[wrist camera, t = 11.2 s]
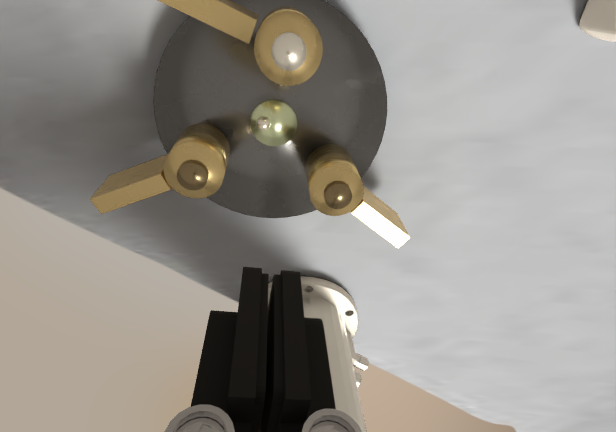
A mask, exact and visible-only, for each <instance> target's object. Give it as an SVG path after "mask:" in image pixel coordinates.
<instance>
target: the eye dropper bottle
mask: <svg viewBox="0 0 616 432" xmlns="http://www.w3.org/2000/svg"><path fill="white" fill-rule="evenodd" d="M579 26H580V29H581V30H582V31H583V32H585V33H586V34H588V35H590V36H592V37H595V38H598V39H602V40H607V41H613V42H616V0H588V2H587V4H586V7H585V9H584V12H583V14H582V17H581V19H580V24H579Z"/></svg>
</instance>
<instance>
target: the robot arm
mask: <svg viewBox="0 0 616 432" xmlns="http://www.w3.org/2000/svg"><path fill="white" fill-rule="evenodd" d="M358 321H359V319H358V313H357V309H356V306H355V303H354V301H353V299H352V298H351V296H350V295H349V294H348V293H347V292H346V291H345V290H344V289H343V288H341V287H339V286H338V285H336V284H334V283H332V282H329V281H327V280H324V279H319V278H315V277H303V276H301V275H300V272H294V271H283V270H282V271H281V274H280V275H274V276H273V282H270V283H268V274H262V268H251V267H243V274H242V282H241V290H240V299H239V307H238V312H224V311H211V312H210V316H209V320H208V325H207V330H206V335H205V340H204V345H203V349H202V354H201V359H200V364H199V369H198V374H197V379H196V384H195V389H194V393H193V399H192V403H191V407H189V408H187V409H185V410H183V411H182V412H180V413H178V414H177V415H176V417H174V419H172V420H171V421H170V423H169V425H168V427H167V429H166V430H165V432H367V430H366V425H365V420H364V415H363V411H362V406H361V401H360V396H359V391H358V386H359V385H360V382H361V373H360V372H359V371H357V370H355V369H354V367H356V368H358V369H360V370H362V371H363V370H366V368H367V367H368V364H369V361H368V359H367V358H365V357H363V356H362V355H360V354H356V353H355V350H354V346H353V341H352V338H353V337H354V336H355V333H356V331H357V328H358ZM353 366H354V367H353Z"/></svg>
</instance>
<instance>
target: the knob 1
mask: <svg viewBox="0 0 616 432" xmlns="http://www.w3.org/2000/svg"><path fill="white" fill-rule="evenodd" d="M229 155H230V146H229V142H228V140H227V138H226V136H225V135H224V134H223V133H222V132H221V131H220V130H219V129H217V128H216V127H214V126H212V125H209V124H203V123H198V124H193V125H191V126H188V127H187V128H186V129H184V130H183V132H182V133H181V134H180V136H179V138H178V139H177V141H176V143H175V144H174V146H173V148H172V149H171V151H170V153H169V154H167V155H164V156H162V157H159V158H156V159H153V160H151V161H148V162H145V163H142V164H140V165H137V166H134V167H131V168H129V169H126V170H123V171H120V172H118V173H115V174H112V175H110V176H109V177H108V178H107V179H106V180H105V182H104V183H103V184H102V185H101V186H100V188H99V189H98V190H97V191H96V192H95V194H94V195H93V196H92V197H91V198H90V200H91V202H92V203H93V204H94V205H95V207H96V208H97V209H98V211H99V212H100V213H101V214H103V213H106V212H109V211H112V210H115V209H117V208H120V207H123V206H126V205H129V204H132V203H134V202H137V201H140V200H143V199H146V198H149V197H151V196H154V195H157V194H160V193H163V192H166V191H168V190H171V188H173V189H174V190H175V191H176V192H178V193H180V194H181V195H184V196H186V197H190V198H204V197H208V196H210V195H212V194H214V193H215V192H216V191H217V190H218V189H219V188H220V186H221V184H222V182H223V178H224V174H225V170H226V167H227V163H228V159H229Z"/></svg>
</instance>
